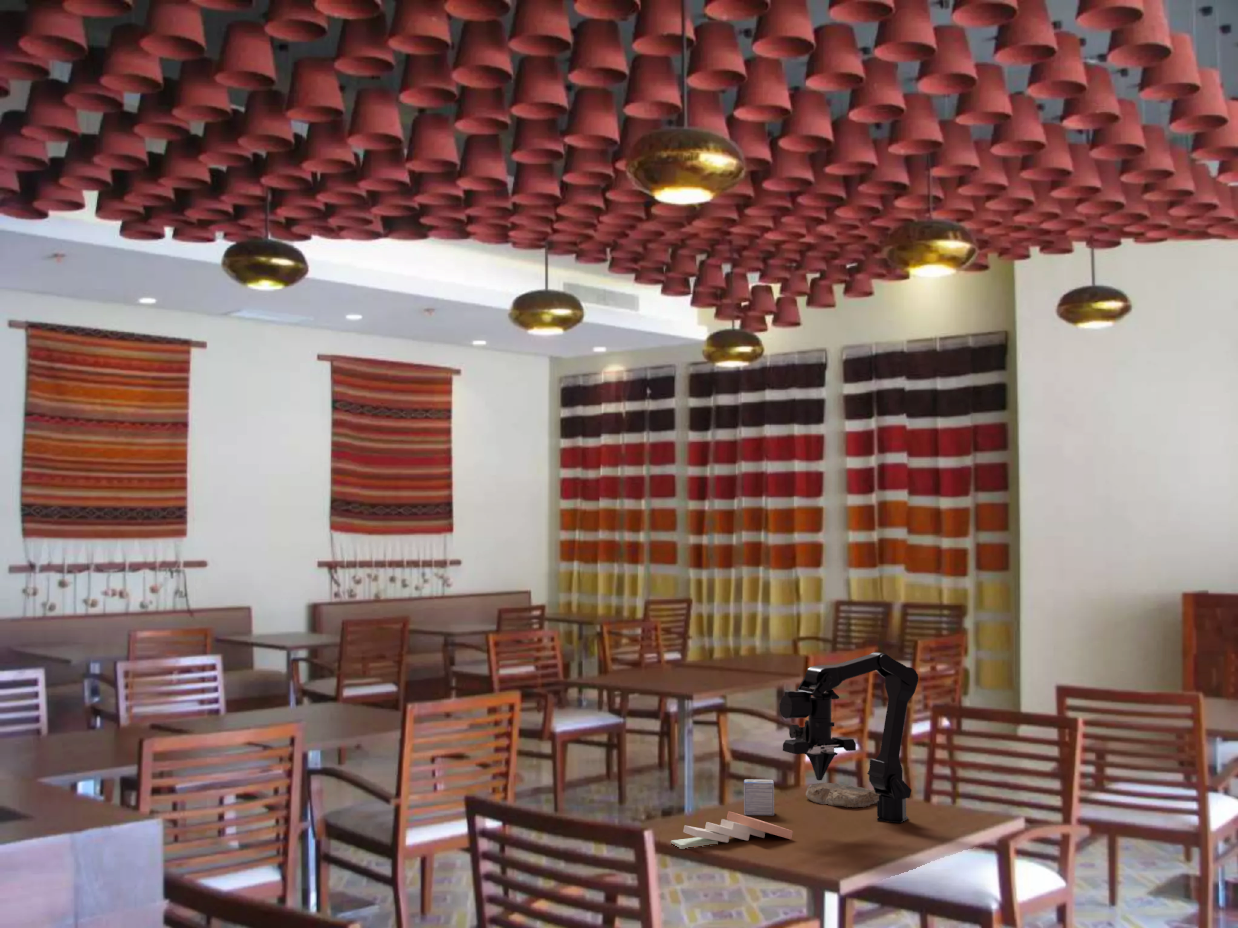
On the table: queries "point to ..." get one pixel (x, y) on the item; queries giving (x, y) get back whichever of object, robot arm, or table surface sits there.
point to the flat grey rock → (841, 795)
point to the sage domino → (693, 842)
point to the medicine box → (758, 797)
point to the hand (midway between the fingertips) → (819, 779)
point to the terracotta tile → (759, 825)
